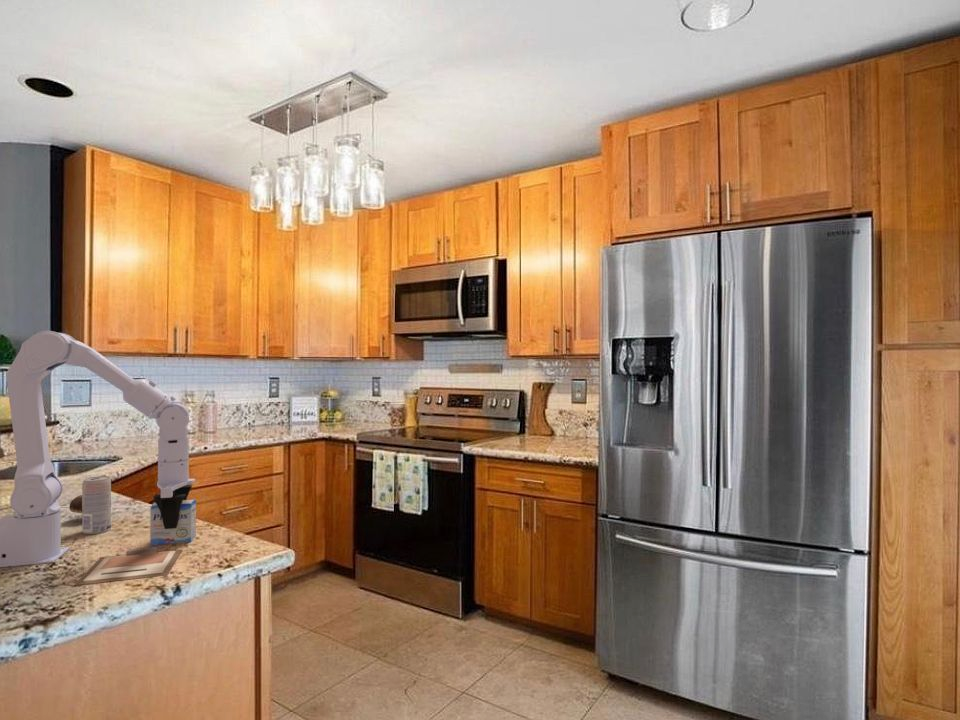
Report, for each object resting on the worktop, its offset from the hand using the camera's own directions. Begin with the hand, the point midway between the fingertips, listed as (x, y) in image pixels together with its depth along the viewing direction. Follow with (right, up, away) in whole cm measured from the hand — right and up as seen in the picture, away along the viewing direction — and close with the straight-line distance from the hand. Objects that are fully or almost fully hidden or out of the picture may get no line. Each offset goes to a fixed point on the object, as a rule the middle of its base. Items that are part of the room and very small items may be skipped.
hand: (173, 524), depth 119 cm
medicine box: (0, -4, 0) cm, 4 cm away
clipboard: (+1, -4, -16) cm, 16 cm away
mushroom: (-30, -4, +17) cm, 34 cm away
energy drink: (-22, -4, +8) cm, 23 cm away
